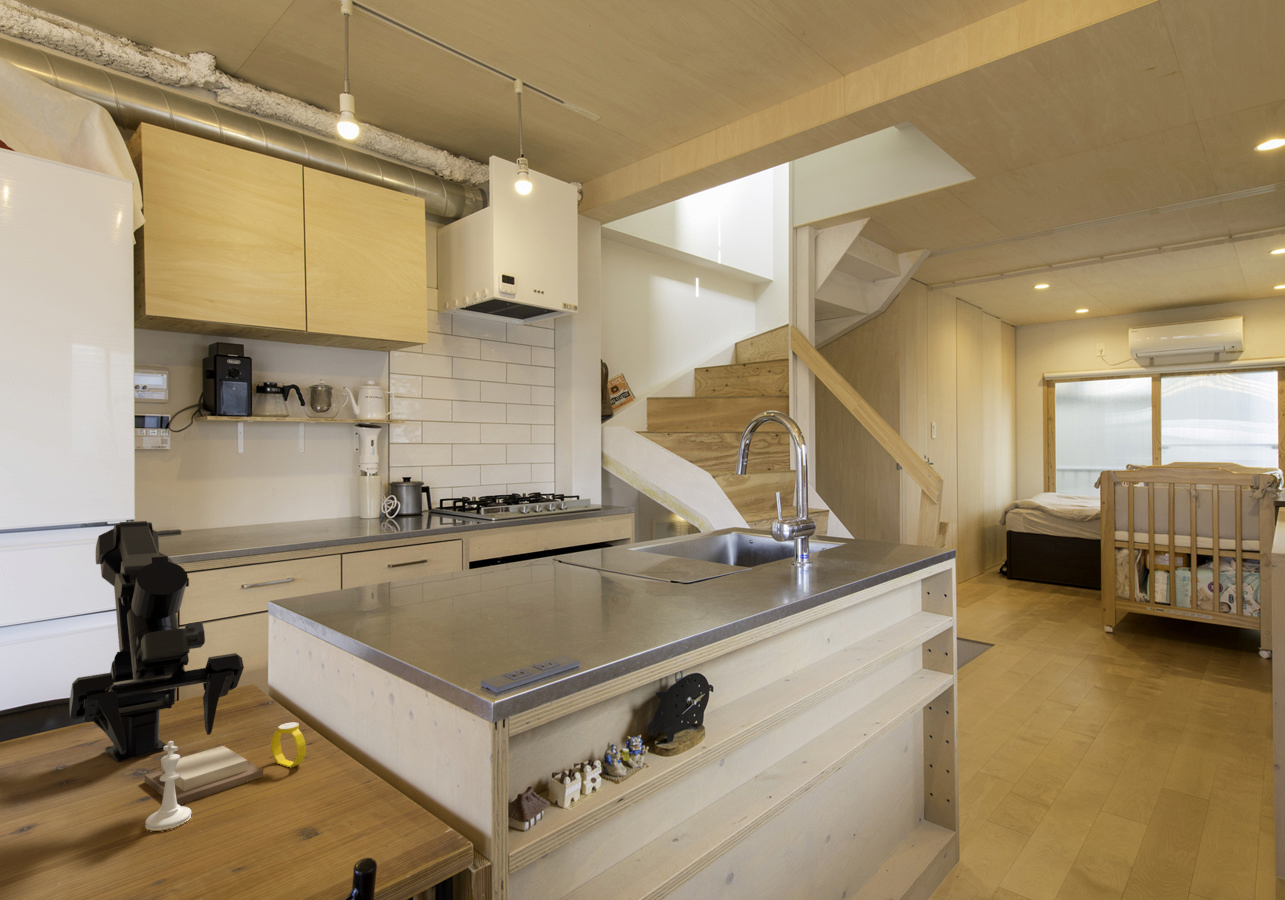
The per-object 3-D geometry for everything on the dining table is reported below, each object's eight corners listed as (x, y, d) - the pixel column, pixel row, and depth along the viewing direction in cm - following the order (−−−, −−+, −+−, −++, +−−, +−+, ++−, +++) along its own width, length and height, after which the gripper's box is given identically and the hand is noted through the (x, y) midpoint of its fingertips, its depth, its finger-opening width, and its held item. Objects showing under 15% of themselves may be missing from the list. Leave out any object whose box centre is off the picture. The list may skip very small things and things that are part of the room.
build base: (144, 782, 99) (145, 764, 99) (228, 756, 107) (229, 739, 107) (175, 806, 92) (176, 787, 92) (262, 777, 101) (263, 759, 101)
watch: (266, 766, 105) (265, 726, 105) (283, 759, 107) (282, 720, 108) (294, 772, 102) (293, 730, 103) (310, 764, 105) (309, 724, 105)
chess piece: (168, 834, 85) (170, 751, 86) (134, 829, 86) (136, 747, 86) (201, 814, 90) (203, 735, 90) (169, 809, 91) (171, 732, 91)
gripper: (73, 613, 88) (80, 728, 79) (241, 595, 100) (262, 692, 92) (67, 663, 93) (72, 775, 85) (226, 640, 106) (244, 735, 98)
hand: (168, 742), depth 90 cm, fingers open, 9 cm apart
